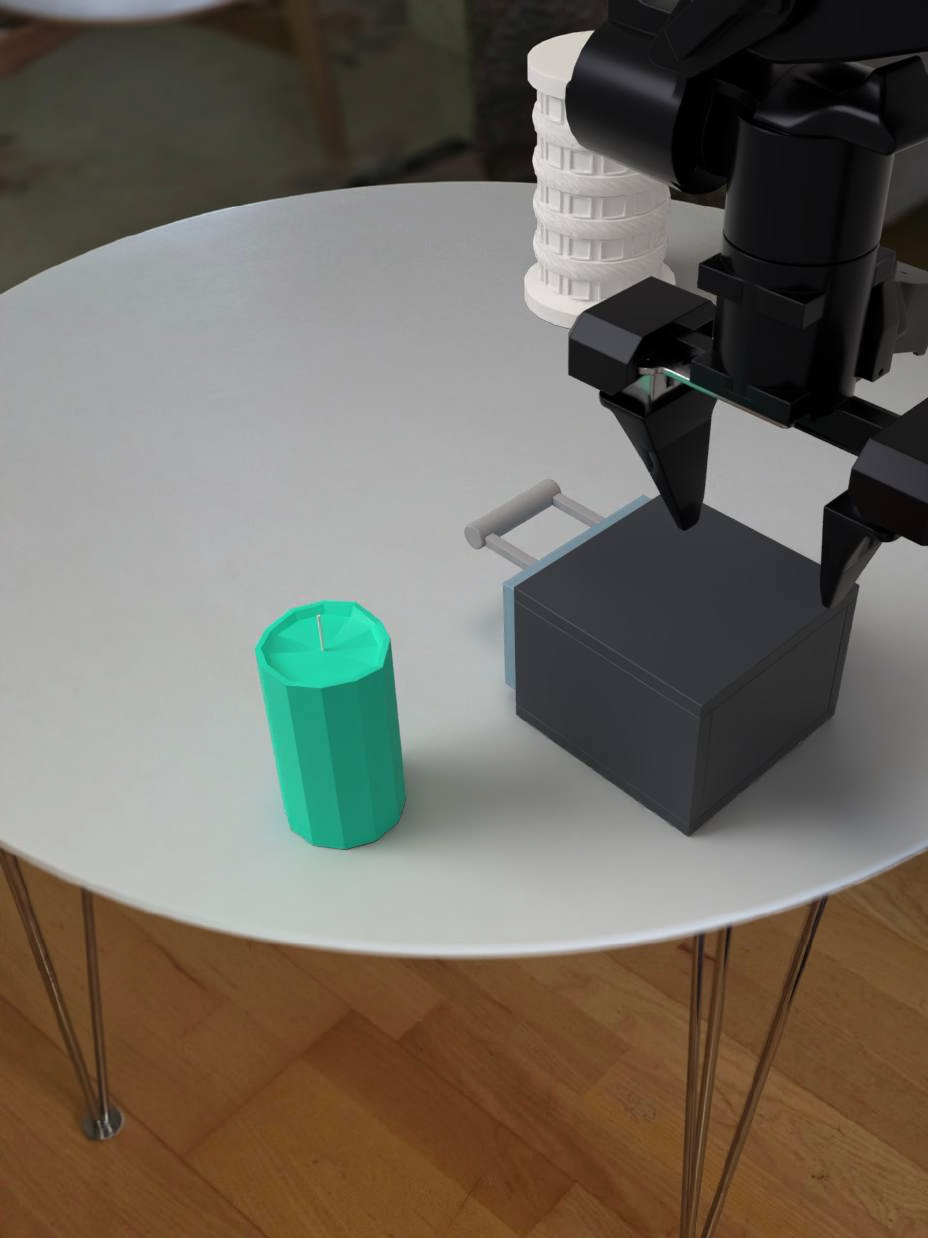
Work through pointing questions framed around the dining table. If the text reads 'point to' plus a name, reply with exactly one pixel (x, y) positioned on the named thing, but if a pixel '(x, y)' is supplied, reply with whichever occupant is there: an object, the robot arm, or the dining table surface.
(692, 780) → the dark grey box
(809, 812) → the dining table surface
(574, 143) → the decorative container
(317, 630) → the candle
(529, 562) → the drawer
